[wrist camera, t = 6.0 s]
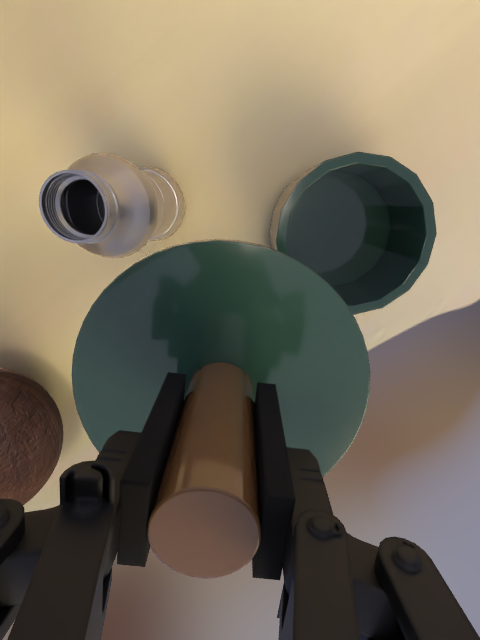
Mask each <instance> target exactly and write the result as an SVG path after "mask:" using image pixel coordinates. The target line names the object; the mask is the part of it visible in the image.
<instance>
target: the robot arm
mask: <svg viewBox="0 0 480 640" xmlns="http://www.w3.org/2000/svg"><path fill="white" fill-rule="evenodd" d="M185 382H186V374H180V373H171V372H168V373H167V375H166V378H165V380H164V382H163V385H162V387H161V389H160V391H159V394H158V396H157V398H156V401H155V403H154V405H153V407H152V410H151V412H150V414H149V416H148V419H147V421H146V423H145V426H144V428H143V430H142V432H131V431H122V430H119V431H117V432H116V433H115V434H113V435H112V436H110V437H109V438H108V439H107V441H106V443H105V444H104V446H103V448H102V451H100V453H99V455H98V457H97V459H96V460H95V461H86V462H81V463H78V464H75V465H72V466H71V467H70V468H68V469H67V470H65V471H64V472H63V474H62V475H61V476H60V505H59V506H56V507H54V508H49V509H45V510H38V511H32V512H25V513H24V507H23V506H22V504H21V503H20V502H19V501H16V500H13V499H0V640H2V639H3V638H4V636H5V634H6V633H7V631H8V630H9V628H10V627H11V625H12V623H13V622H14V620H15V622H14V624H13V627H12V629H11V632H10V635H9V637H8V640H101V636H102V630H103V625H104V620H105V614H106V609H107V603H108V598H109V592H110V586H111V581H112V565H113V562H114V560H115V557H116V554H117V551H118V555H117V564H121V565H131V566H142V567H145V564H146V561H147V557H148V553H149V549H150V543H149V540H148V535H147V525H148V520H149V517H150V513H151V510H152V507H153V503H154V500H155V496H156V493H157V490H158V486H159V483H160V480H161V476H162V473H163V469H164V466H165V463H166V459H167V456H168V453H169V449H170V446H171V442H172V439H173V436H174V432H175V429H176V426H177V422H178V419H179V415H180V412H181V409H182V405H183V402H184V394H185ZM254 406H255V424H256V442H257V460H258V478H259V496H260V514H261V531H262V536H261V542H260V545H259V548H258V550H257V552H256V554H255V555H254V557H253V558H252V563H253V564H252V565H253V567H252V568H253V577H254V578H264V579H274V580H280V577H281V572H282V567H283V574H284V585H283V590H282V595H281V600H280V605H279V610H278V615H277V618H280V626H279V640H480V637H479V636H478V634H477V633H476V631H475V629H474V628H473V626H472V625H471V623H470V621H469V620H468V618H467V616H466V615H465V613H464V612H463V610H462V608H461V607H460V605H459V604H458V602H457V600H456V599H455V597H454V595H453V594H452V592H451V590H450V589H449V587H448V586H447V584H446V582H445V581H444V579H443V578H442V576H441V574H440V573H439V571H438V569H437V568H436V566H435V565H434V563H433V561H432V560H431V558H430V557H429V556H428V555H427V553H426V552H425V551H424V550H422V549H421V548H420V547H419V546H417V545H416V544H415V543H413V542H410V541H408V540H406V539H404V538H398V537H389V538H385V539H384V540H383V541H381V542H380V545H379V547H377V546H374V545H371V544H369V543H366V542H363V541H361V540H359V539H356V538H354V537H352V536H351V535H350V534H348V533H347V532H346V530H345V527H344V525H343V524H342V523H341V522H340V520H339V519H338V518H337V517H335V516H334V515H333V512H332V508H331V505H330V501H329V498H328V494H327V491H326V488H325V484H324V482H323V477H322V473H321V470H320V466H319V463H318V460H317V458H316V457H315V456H314V455H313V454H312V453H311V451H310V450H308V449H299V448H289V447H286V441H285V435H284V430H283V424H282V418H281V412H280V407H279V401H278V395H277V390H276V384H269V383H260V382H258V383H257V390H256V396H255V403H254Z"/></svg>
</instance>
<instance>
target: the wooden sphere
mask: <svg viewBox="0 0 480 640" xmlns="http://www.w3.org/2000/svg"><path fill="white" fill-rule="evenodd" d="M62 443H63V425H62V419H61V416H60V413H59V410H58V408H57V406H56V404H55V402H54V400H53V399H52V397H51V396H50V395H49V393H48V392H47V391H46V390H45V389H44V388H43V387H42V386H40V385H39V384H38V383H37V382H35V381H34V380H32V379H30V378H29V377H27V376H25V375H22V374H20V373H17V372H14V371H11V370H6V369H1V368H0V499H13V500H16V501H19V502H20V503H21V504H22V506H23V505H24V504H25V503H27V502H28V501H29V500H30V499H31V498H33V497H34V496H35V495H36V494H37V493H38V492H39V490H40V489H41V488H42V487H43V486H44V485H45V483H46V482H47V481H48V479H49V478H50V476H51V474H52V473H53V471H54V469H55V467H56V465H57V462H58V460H59V457H60V453H61V449H62Z"/></svg>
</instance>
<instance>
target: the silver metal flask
mask: <svg viewBox="0 0 480 640" xmlns="http://www.w3.org/2000/svg"><path fill="white" fill-rule="evenodd" d="M39 207H40V212H41V215H42V217H43V220H44V221H45V223H46V225H47V226H48V227H49V229H50V230H51V231H52V232H53V233H54V234H56V235H57V236H58V237H60V238H62V239H64V240H66V241H69V242H72V243H77V244H78V245H80V246H81V247H82V248H84V249H86V250H88V251H89V252H91V253H94V254H96V255H99V256H102V257H108V258H122V257H125V256H129V255H131V254H133V253H135V252H137V251H139V250H140V249H141V248H142V247H143V246H144V245H146V244H147V243H148V241H149V240H151V241H155V240H162V239H165V238H167V237H169V236H171V235H172V234H173V233H174V232H175V231H176V230H177V229H178V228H179V226H180V224H181V222H182V220H183V216H184V209H185V204H184V198H183V195H182V191H181V190H180V188H179V186H178V184H177V183H176V182H175V180H174V179H173V178H172V177H171V176H170V175H168V174H167V173H165V172H164V171H162V170H160V169H157V168H153V167H141V168H138V167H137V166H135V165H134V164H132V163H131V162H129V161H127V160H126V159H124V158H122V157H119V156H116V155H113V154H107V153H96V154H91V155H88V156H84V157H83V158H81V159H79V160H78V161H76V162H75V163H73V164H72V165H71V166H70V167H69V168H68V169H67V170H63V171H59V172H56V173H54V174H53V175H51V176H50V177H49V178H48V179H47V180H46V181H45V182H44V184H43V186H42V188H41V191H40V195H39Z"/></svg>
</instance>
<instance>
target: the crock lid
mask: <svg viewBox="0 0 480 640" xmlns="http://www.w3.org/2000/svg"><path fill="white" fill-rule="evenodd" d="M168 372H171V373H180V374H186V382H185V394H184V402H183V405H182V409H181V412H180V415H179V419H178V422H177V426H176V429H175V432H174V436H173V439H172V442H171V446H170V449H169V453H168V456H167V459H166V463H165V466H164V469H163V473H162V476H161V480H160V483H159V486H158V490H157V493H156V496H155V500H154V503H153V507H152V510H151V513H150V517H149V520H148V525H147V535H148V540H149V543H150V546H151V548H152V550H153V552H154V554H155V555H156V556H157V558H158V559H159V560H160V561H161V562H162V563H163V564H165V565H166V566H167V567H169V568H170V569H172V570H174V571H176V572H178V573H180V574H183V575H186V576H189V577H195V578H205V579H208V578H218V577H222V576H226V575H229V574H232V573H234V572H236V571H238V570H240V569H241V568H243V567H244V566H245V565H246V564H248V563H249V562H250V561H251V559H252V558H253V557H254V555H255V554H256V552H257V550H258V548H259V545H260V542H261V536H262V531H261V514H260V496H259V478H258V460H257V442H256V424H255V406H254V403H255V396H256V390H257V383H258V382H260V383H269V384H276V390H277V395H278V401H279V407H280V412H281V418H282V424H283V430H284V435H285V441H286V447H289V448H299V449H308V450H310V451H311V453H312V454H313V455H314V456H315V457H316V458H317V460H318V463H319V466H320V470H321V473H322V477H324V475H326V474H327V473H328V472H329V471H330V470H331V469H332V468H333V467H334V466H335V465H336V464H337V463H338V462H339V460H340V459H341V458H342V457H343V456H344V455H345V453H346V451H347V450H348V449H349V447H350V446H351V444H352V443H353V441H354V439H355V437H356V435H357V433H358V431H359V429H360V427H361V425H362V421H363V418H364V415H365V412H366V409H367V404H368V398H369V392H370V366H369V358H368V352H367V348H366V345H365V341H364V338H363V335H362V333H361V330H360V328H359V326H358V323H357V321H356V319H355V317H354V316H353V314H352V313H351V311H350V309H349V308H348V306H347V305H346V303H345V302H344V300H343V299H342V298H341V297H340V296H339V294H338V293H337V292H336V291H335V290H334V289H333V287H332V286H331V285H330V284H328V283H327V282H326V281H325V280H324V279H323V278H322V277H321V276H319V275H318V274H317V273H316V272H315V271H314V270H312V269H311V268H309V267H308V266H306V265H305V264H303V263H302V262H300V261H299V260H297V259H295V258H293V257H291V256H289V255H287V254H285V253H283V252H280V251H278V250H275V249H272V248H269V247H266V246H263V245H260V244H255V243H250V242H245V241H239V240H223V239H213V240H200V241H193V242H188V243H184V244H179V245H175V246H172V247H169V248H167V249H164V250H161V251H158V252H156V253H154V254H152V255H150V256H148V257H146V258H144V259H142V260H141V261H139V262H137V263H135V264H134V265H132V266H131V267H130V268H128V269H127V270H126V271H124V272H123V273H121V274H120V275H119V276H118V277H117V278H116V279H115V280H114V281H112V282H111V283H110V284H109V285H108V286H107V287H106V288H105V289H104V290H103V292H102V293H101V294H100V296H99V297H98V298H97V300H96V301H95V302H94V304H93V305H92V307H91V308H90V310H89V312H88V314H87V316H86V317H85V319H84V321H83V323H82V326H81V329H80V331H79V334H78V337H77V340H76V345H75V349H74V354H73V363H72V384H73V394H74V399H75V403H76V408H77V411H78V414H79V416H80V419H81V422H82V424H83V427H84V429H85V431H86V432H87V434H88V436H89V438H90V440H91V442H92V443H93V445H94V446H95V447H96V449H97V450H98V452H99V453H100V451H102V448H103V446H104V444H105V443H106V441H107V439H108V438H109V437H110V436H112V435H113V434H115V433H116V432H117V431H119V430H122V431H131V432H142V430H143V428H144V426H145V423H146V421H147V419H148V416H149V414H150V412H151V410H152V407H153V405H154V403H155V401H156V398H157V396H158V394H159V391H160V389H161V387H162V385H163V382H164V380H165V378H166V375H167V373H168Z"/></svg>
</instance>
